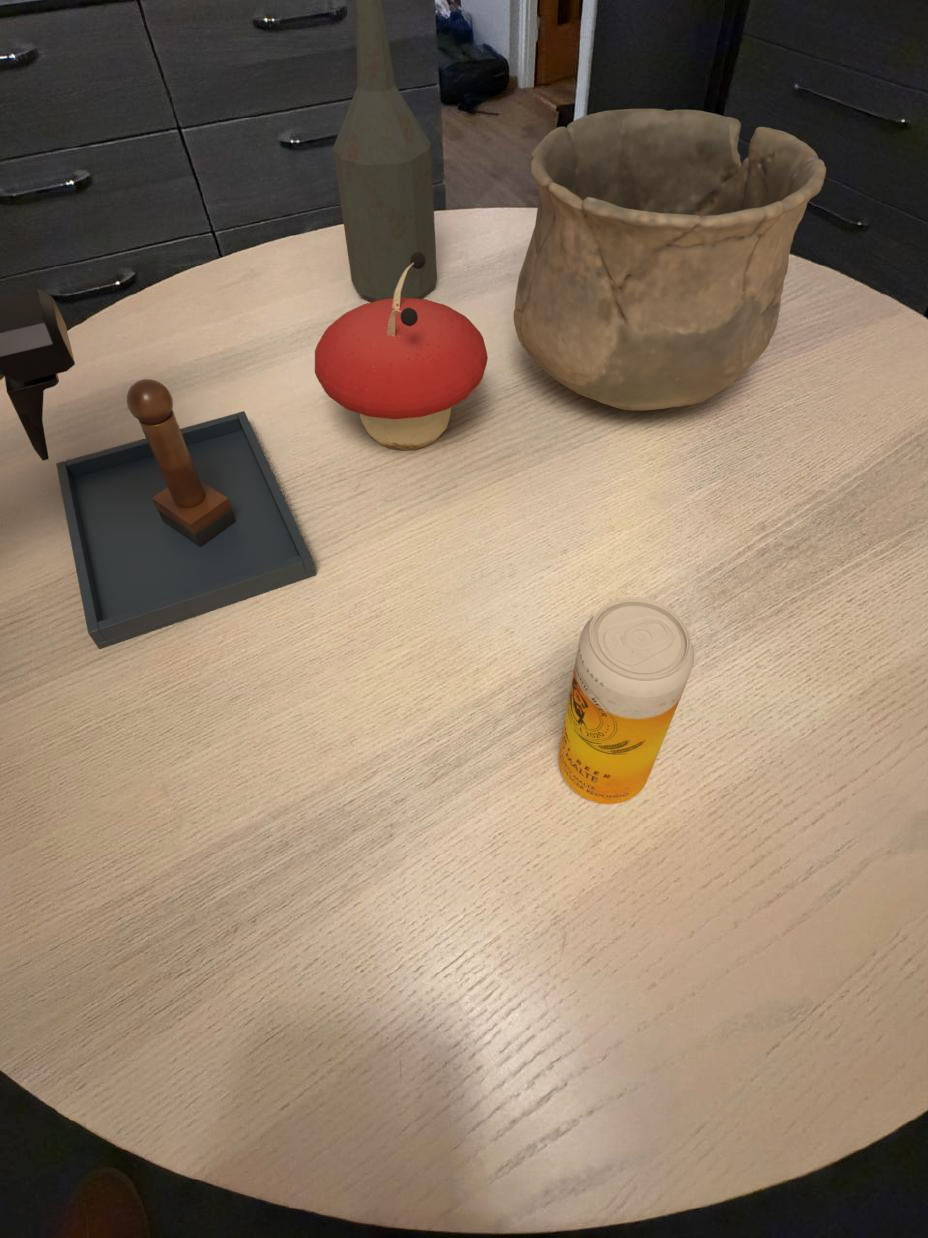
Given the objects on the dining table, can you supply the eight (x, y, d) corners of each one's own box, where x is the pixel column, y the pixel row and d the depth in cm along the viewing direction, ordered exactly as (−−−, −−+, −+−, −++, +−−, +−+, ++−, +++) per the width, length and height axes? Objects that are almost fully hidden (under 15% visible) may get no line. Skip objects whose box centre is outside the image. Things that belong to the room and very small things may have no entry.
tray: (99, 649, 58) (87, 633, 56) (65, 480, 70) (55, 462, 68) (316, 575, 62) (312, 558, 60) (249, 428, 74) (244, 410, 72)
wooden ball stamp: (236, 521, 65) (187, 382, 54) (200, 547, 63) (141, 409, 52) (198, 496, 67) (143, 358, 56) (162, 521, 65) (97, 383, 54)
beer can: (542, 746, 52) (561, 612, 40) (618, 716, 53) (658, 577, 41) (584, 823, 48) (619, 701, 36) (665, 788, 50) (723, 660, 38)
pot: (721, 316, 85) (781, 98, 68) (781, 448, 71) (876, 213, 54) (504, 322, 85) (510, 105, 68) (519, 456, 71) (532, 223, 54)
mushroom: (485, 481, 69) (487, 332, 57) (315, 479, 69) (282, 331, 57) (488, 380, 78) (489, 235, 66) (339, 379, 79) (314, 234, 67)
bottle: (436, 264, 94) (421, -52, 70) (438, 305, 88) (423, -26, 64) (354, 267, 94) (311, -48, 70) (350, 309, 88) (303, -21, 64)
